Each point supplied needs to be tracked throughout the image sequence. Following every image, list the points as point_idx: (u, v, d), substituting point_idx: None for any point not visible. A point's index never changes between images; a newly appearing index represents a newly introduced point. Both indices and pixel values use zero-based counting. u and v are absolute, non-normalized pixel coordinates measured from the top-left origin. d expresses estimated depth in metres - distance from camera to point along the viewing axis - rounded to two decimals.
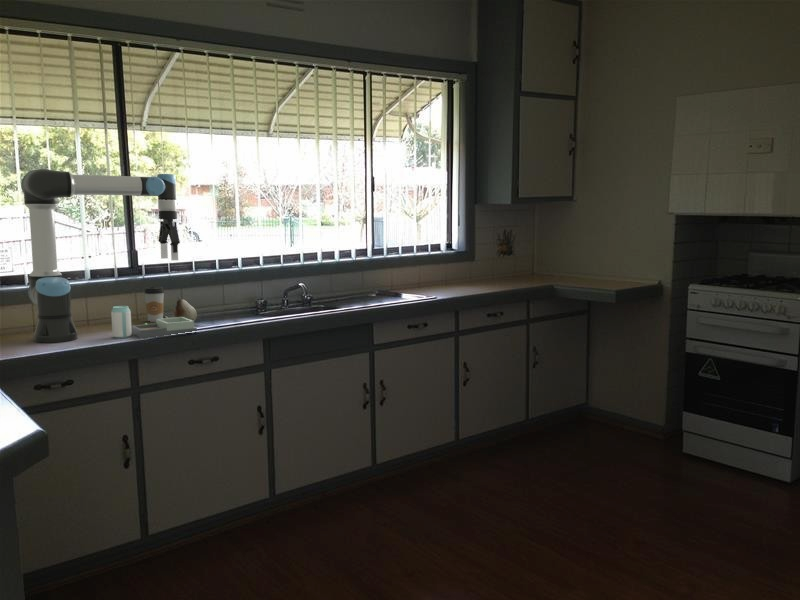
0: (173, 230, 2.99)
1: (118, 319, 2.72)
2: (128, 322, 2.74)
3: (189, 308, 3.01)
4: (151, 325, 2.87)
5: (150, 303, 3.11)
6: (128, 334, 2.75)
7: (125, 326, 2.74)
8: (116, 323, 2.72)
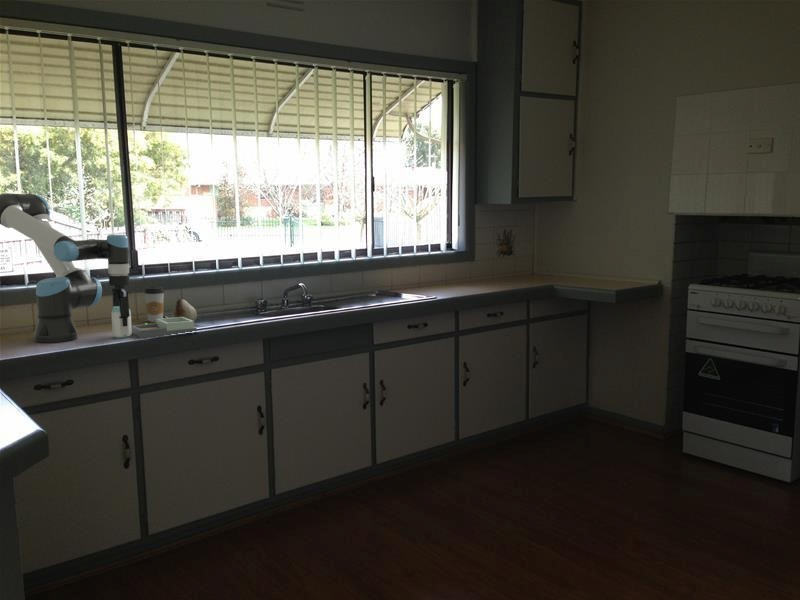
0: (123, 301, 2.69)
1: (118, 319, 2.72)
2: (128, 322, 2.74)
3: (189, 308, 3.01)
4: (151, 325, 2.87)
5: (150, 303, 3.11)
6: (128, 334, 2.75)
7: None
8: (116, 323, 2.72)
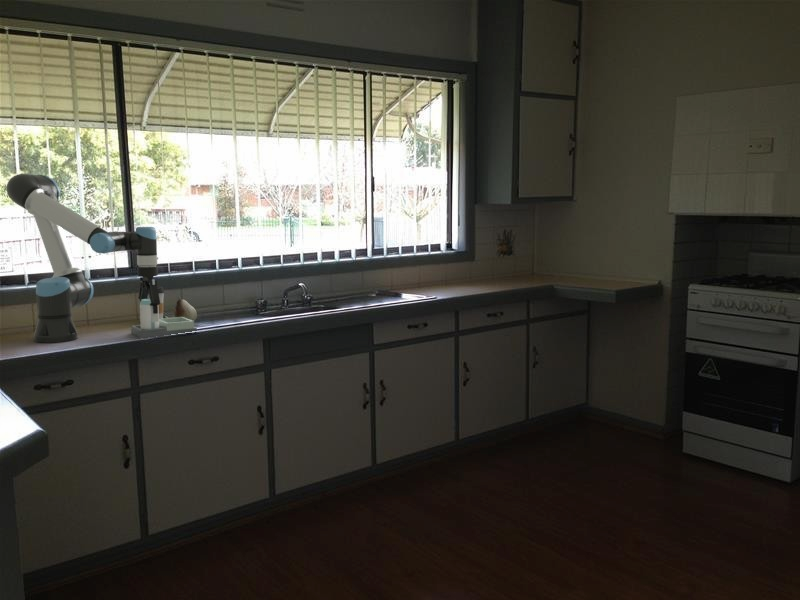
0: (153, 289, 2.73)
1: (147, 311, 2.77)
2: None
3: (189, 308, 3.01)
4: None
5: None
6: (156, 326, 2.79)
7: None
8: (144, 315, 2.77)
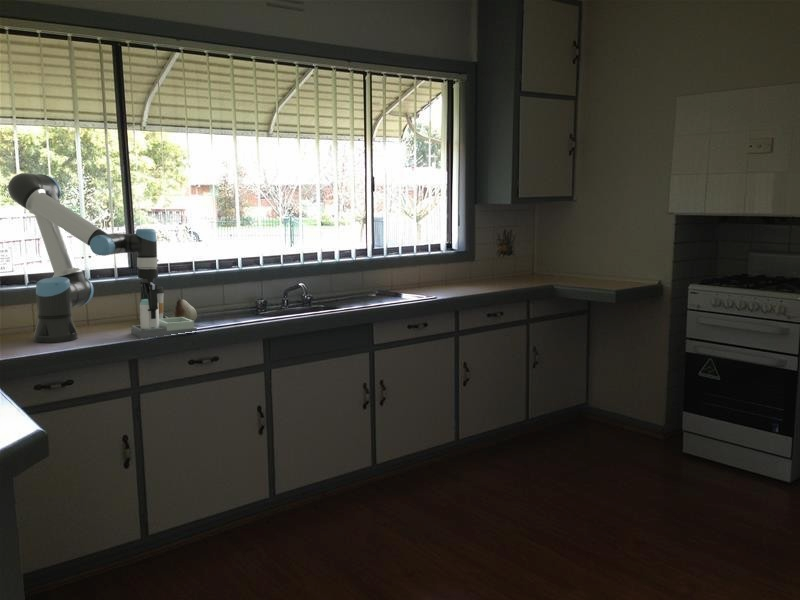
0: (152, 294, 2.74)
1: (147, 311, 2.77)
2: (156, 315, 2.79)
3: (189, 308, 3.01)
4: None
5: None
6: None
7: None
8: (144, 315, 2.77)
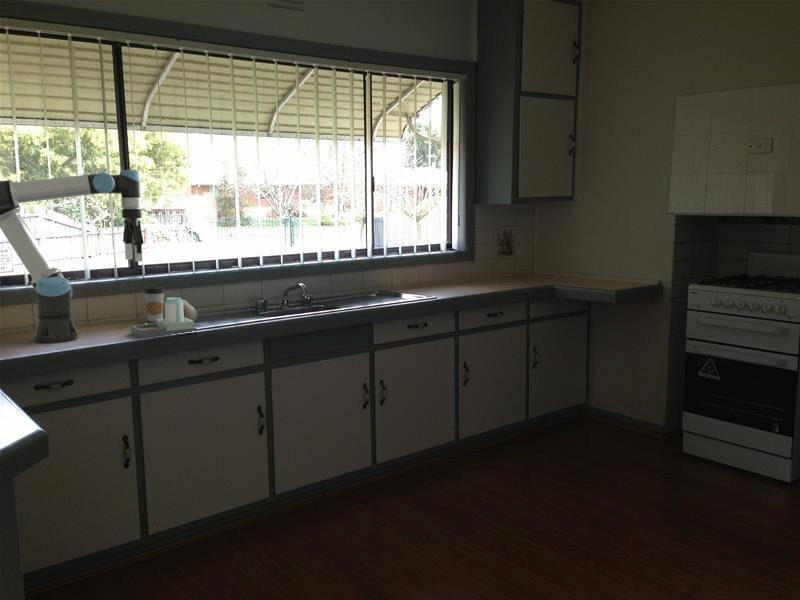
0: (136, 229, 2.83)
1: (172, 310, 2.83)
2: (181, 313, 2.85)
3: (189, 308, 3.01)
4: (151, 325, 2.87)
5: (150, 303, 3.11)
6: None
7: (179, 317, 2.84)
8: (170, 314, 2.83)
